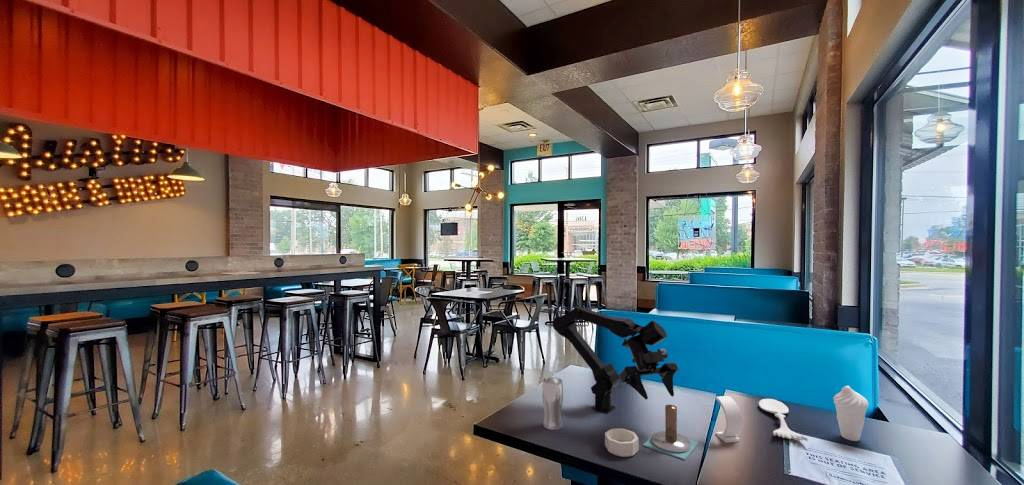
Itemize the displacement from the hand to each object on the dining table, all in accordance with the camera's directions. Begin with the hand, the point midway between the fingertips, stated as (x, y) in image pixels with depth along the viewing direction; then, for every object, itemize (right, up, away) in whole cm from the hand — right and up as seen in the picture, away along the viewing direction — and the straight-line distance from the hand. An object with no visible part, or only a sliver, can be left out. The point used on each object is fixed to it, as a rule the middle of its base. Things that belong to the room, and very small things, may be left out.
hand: (660, 397), depth 127 cm
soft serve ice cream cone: (+58, -12, -2) cm, 59 cm away
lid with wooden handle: (+1, -12, -5) cm, 13 cm away
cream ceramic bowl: (-14, -12, -8) cm, 20 cm away
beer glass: (-33, -12, +7) cm, 36 cm away
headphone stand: (+20, -12, -2) cm, 24 cm away
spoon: (+43, -12, +8) cm, 45 cm away
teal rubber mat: (+1, -12, -5) cm, 13 cm away
